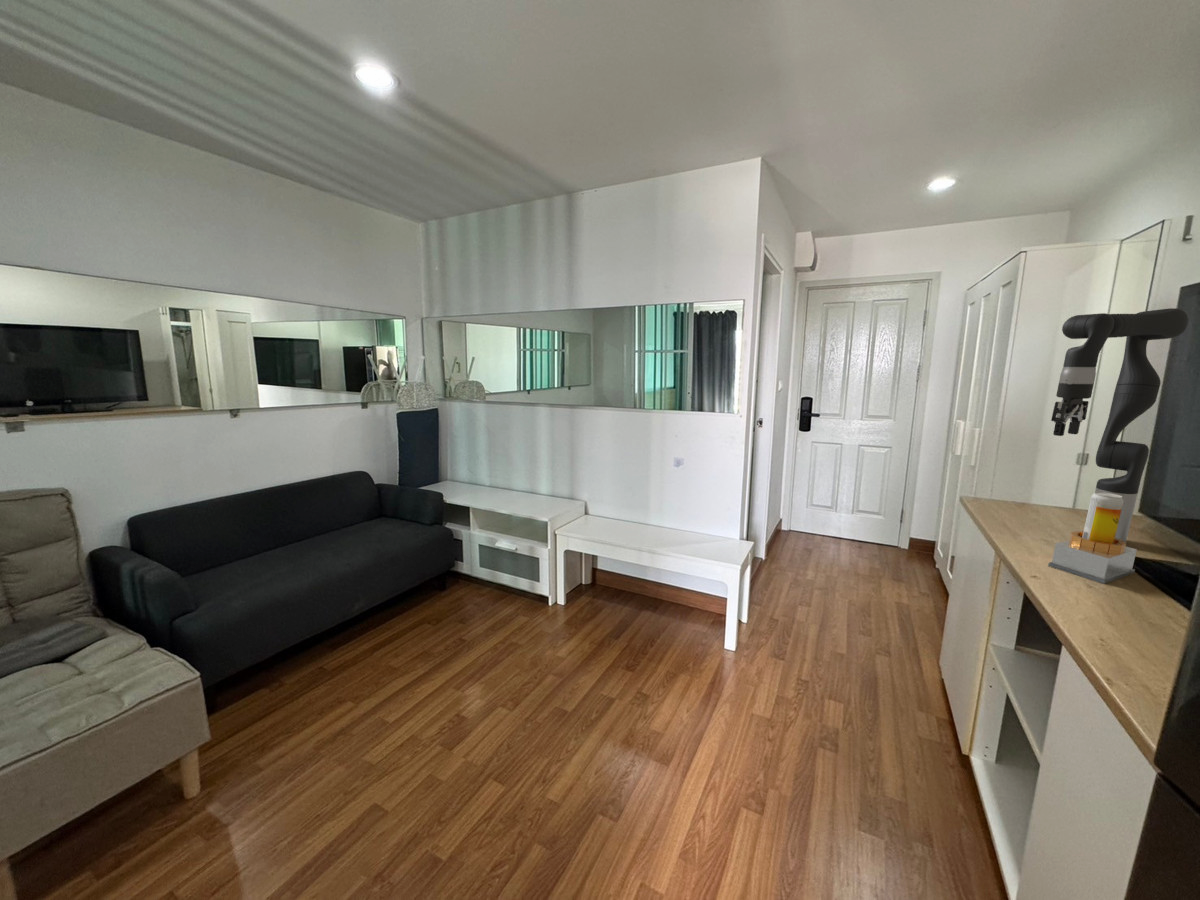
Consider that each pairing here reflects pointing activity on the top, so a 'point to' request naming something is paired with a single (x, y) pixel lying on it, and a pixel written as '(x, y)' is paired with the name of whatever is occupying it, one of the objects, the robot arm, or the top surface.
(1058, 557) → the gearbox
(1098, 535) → the beer can
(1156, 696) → the top surface
